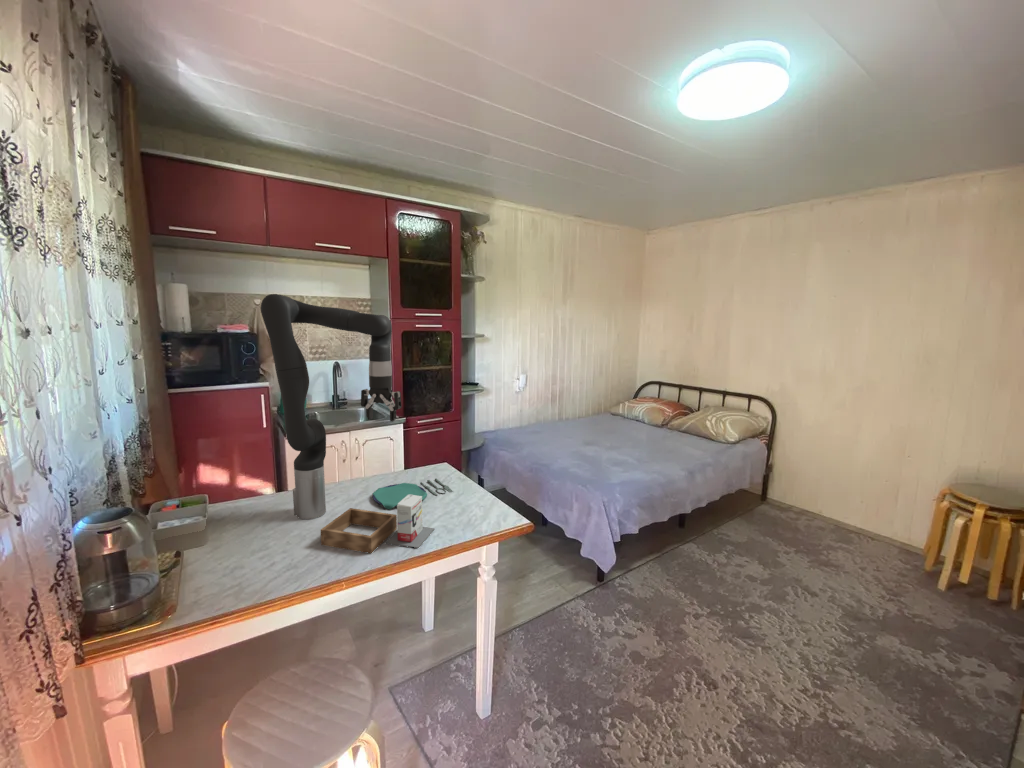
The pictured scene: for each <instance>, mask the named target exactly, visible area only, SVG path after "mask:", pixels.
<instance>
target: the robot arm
mask: <svg viewBox="0 0 1024 768" xmlns="http://www.w3.org/2000/svg"><path fill="white" fill-rule="evenodd" d="M260 313H261V316H262V320H263V322H264V325H265V329H266V332H267V335H268V338H269V342H270V348H271V352H272V353H271V354H272V358H273V363H274V368H275V369H274V370H275V372H276V379H277V383H278V386H279V391H280V396H281V401H282V408H283V414H284V415H283V416H284V426H285V427H284V428H285V434H286V440H287V443H288V445H289V446H290V448H292V449H293V450H294V451H296V452H299V454H298V455H297V456H296V458H295V459H294V461H293V473H294V475H293V476H294V488H293V489H292V500H293V503H292V504H293V516H295V515H297V516H296V517H297V518H298V517H299V518H298V519H300V518H301V519H300V520H313V519H316V518H320V517H321V516H323V515H325V513H326V512H327V509H326V508H327V505H326V502H327V501H326V482H325V459H326V454H327V434H326V433H327V432H326V429H325V426H324V424H323V422H322V421H320V420H319V419H316V418H309V419H307V417H306V411H305V408H306V406H305V405H306V399H307V396H308V391H309V388H310V375H309V371H308V366H307V363H306V362H307V361H306V359H305V357H304V355H303V352H302V351H301V349H300V347H299V345H298V343H297V341H296V339H295V336H294V331H293V326H292V324H310V325H317V326H322V327H326V328H330V329H333V330H334V329H335V330H339V331H346V332H353V333H354V332H355V333H356V332H357V333H360V334H363V335H367V336H370V338H371V339H370V341H371V342H370V345H369V348H368V353H369V354H368V356H369V357H368V358H369V359H368V360H369V363H368V385H369V386H368V387H369V389H368V388H364V389H362V390H361V391H360V406H361V407H363V408H365V410H366V418H367V419H368V420H373V418H374V407H373V406H374V405H375V404H385V405H386V406H387V407H388V409H389V410H390V411H389V421H390V422H391V423H392V422H395V420H396V419H397V410H399V409H402V408H403V407H402V394H401V391H393V389H392V388H393V366H392V357H391V356H392V353H391V342H392V333H393V332H392V331H393V328H392V321H391V320H390V317H387V316H386V315H383V314H373V313H365V312H364V313H363V312H360V311H357V310H353V309H348V308H347V309H346V308H342V307H341V308H339V307H331V306H321V305H313V304H309V303H305V302H303V301H300V300H296V299H295V298H294V299H293V298H292V297H290V296H286V295H283V294H277V293H271V294H267V295H266V296H265V297H264V298H263V299H262V301H261V304H260ZM369 395H370V398H369ZM392 398H393V399H392Z"/></svg>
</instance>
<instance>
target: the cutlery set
mask: <svg viewBox="0 0 1024 768" xmlns="http://www.w3.org/2000/svg"><path fill="white" fill-rule="evenodd" d="M434 481H435V482H436V483H438V484H439V485H440V486H442V487H443V488H442V487H437V485H435V483H434V482H432V480H430V479H428V480H427V481H426V482H427V483H429V484H430V485H431V486H433V487H434V488H435V489H436V492H437V493H438V494H446V493H447V491H448V492H449V493H452V492H453V493H454V490H452V489H451V488H450V486H449V485H446V484H444V483H442V482H441V481H440V480H439V479H438V478H434ZM420 485H423V486H424V487H425V488H426V490H427V489H428V490H427V491H429V492H430V493H431V494H432V495H434V496H437V497H438V494H437V493H436V492H435V491H433V490H432V489H431V487H430V486H429V485H426V484H425V483H423V482H422V481H421V482H420ZM425 488H423V487H422V486H419V485H418V484H416V483H410V482H401V483H398V484H397V483H395V484H390V485H387V486H383V487H379V488H377V489H376V490H375V491H373V493H372V499H373V501H374V502H375V503H377V504H379V505H382V506H383V508H385V509H386V510H392V509H394V508H395V507H396V508H397V505H398V503H399V502H400V501H401V500H402V499H404V498H405V497H406V496H407V495H409V494H411V495H417V496H422V501H425V499H426V498H427V497H428V493H427V492H426V490H425ZM439 490H440V491H444V492H440V491H439Z"/></svg>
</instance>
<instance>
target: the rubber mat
mask: <svg viewBox="0 0 1024 768" xmlns="http://www.w3.org/2000/svg"><path fill="white" fill-rule="evenodd" d="M435 529H436V527H435V528H434V527H429V526H422V531H421V532H420V533H419V534H418V535H417V536H416V537H415V539H414V540H413V541H412V542H406V541H398V532H397V530H395V531H394V532H393V533H392V534H391V535H390V536H389V537H388V538H387V539H386V540H385V541H384V543H386V544H387V545H391V544H392V546H397V545H400V546H399V547H403V546H408V547H407V548H409V547H414V548H413V549H415V548H419V547H420V546H421V547H422V545H423V544H424V543H425V542H426V541H427V539H428V538H429V537H430V536H431V535H432V533H433V532H434V531H435ZM430 534H431V535H430ZM425 540H426V541H425ZM424 541H425V542H424ZM423 542H424V543H423ZM422 543H423V544H422ZM386 544H385V545H386ZM421 547H420V548H421ZM420 548H419V549H420Z"/></svg>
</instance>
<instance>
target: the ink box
mask: <svg viewBox="0 0 1024 768" xmlns="http://www.w3.org/2000/svg"><path fill="white" fill-rule="evenodd" d="M396 515H397V529H396V531H397V532H398V541H406V542H412V541H413V540H414V539H415V537H416V536H417V535H418V534H419V533H420V532H421V531H422V527H423V500H422V496H417V495H411V494H409V495H407V496H406V497H405V498H404V499H402V500H401V501H400V502H399V503H398V505H397V506H396Z"/></svg>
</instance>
